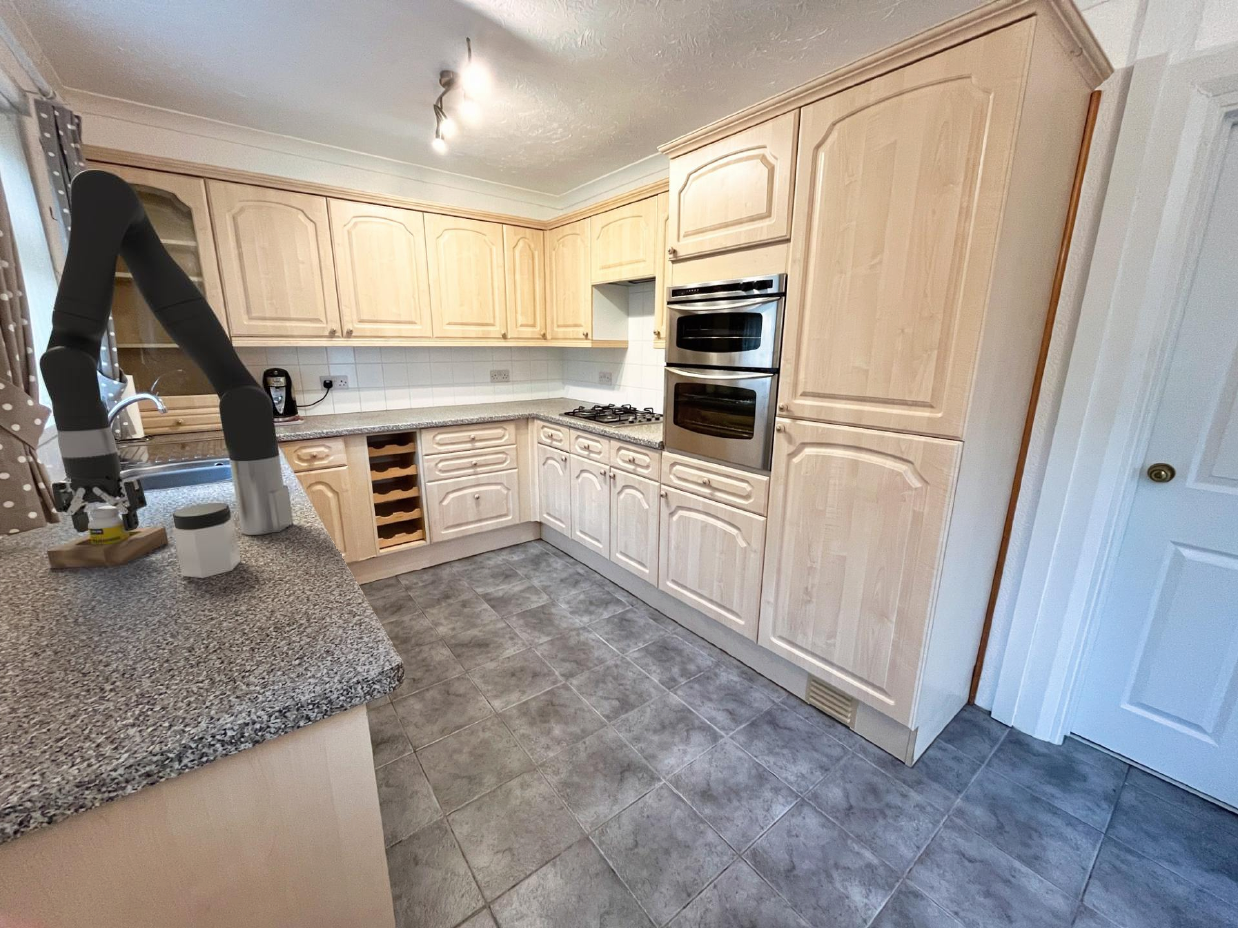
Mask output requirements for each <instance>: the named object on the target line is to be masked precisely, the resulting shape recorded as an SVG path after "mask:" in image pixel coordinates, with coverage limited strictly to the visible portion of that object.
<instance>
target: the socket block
mask: <svg viewBox="0 0 1238 928" xmlns="http://www.w3.org/2000/svg"><path fill="white" fill-rule="evenodd" d="M128 532H129V536H130V537H129V538H127V539H124V540H122V541H120V542H118V543H115V544H100V545H92V542H91V537H90V533H87V534H85V535H83V536H80V537H78V538H74V539H73V540H70V541H67V542H65V543H62V544H60V545H58V546H55V547H53V548H50V549H48V550H47V549H46V554H47V558H48V561H49V562H48V563H49V565H50V568H52V569H54V568H55V569H59V568H62V569H63V568H90V567H93V568H94V567H116V566H118V567H120V566H123V565H125V564H127V563H130V562H131V561H133V560H135V559H138V558H139V557H141V556H143V555H145V554H147V553H149V552H151V551H153V550H155V549H157V548H159V547H162V546H163V545H165V544H167V543H169V540H168V539H169V538H168V535H167V529H166V526H147V527H146V526H144V527H140V526H138V527H137V528H136V529H134V530H132V531H128Z"/></svg>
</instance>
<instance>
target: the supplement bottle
mask: <svg viewBox="0 0 1238 928" xmlns="http://www.w3.org/2000/svg"><path fill="white" fill-rule="evenodd" d="M89 513H90V515H89V516H90V517H91V519H92V520H89V523H88V529H89V530H88V532H89V533H88V534H90V537H91V542H92V545H100V544H115V543H118V542H120V541H122V540H124V539H127V538H129V537H130V536H129V532H128V531H125V529H124V524H123V520H122V515H120V510H118V509H117V508H116V507H114V506H111V505H106V506H103V505H102V506H98V507H94V508H92V509H90V510H89Z"/></svg>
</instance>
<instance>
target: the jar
mask: <svg viewBox="0 0 1238 928" xmlns="http://www.w3.org/2000/svg"><path fill="white" fill-rule="evenodd" d="M231 513H232V512H231V509H230V505H229V504H227V503H224V502H223V503H222V502H212V503H211V502H210V503H209V502H208V503H201V504H195V505H190V506H186V507H182V508H180V509H178V510H176V511H174V512H173V513H172V517H173V522H174V523H173V524H174V527H173V528H172V533H173V538H174V543H175V548H176V554H177V557H178V558H177V559H178V562H179V567H180V572H181V576H182V577H188V578H198V579H205V578H208V577H209V578H210V577H213V576H216V575H220V574H224V573H228V572H231V571H233V570H235V569H234V568H235V567H237V566H238V564H240V562H241V555H240V549H239V543H238V537H237V533H236V526H235V521H234V517H233V516H231V515H232V514H231Z"/></svg>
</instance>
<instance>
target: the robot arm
mask: <svg viewBox="0 0 1238 928" xmlns="http://www.w3.org/2000/svg"><path fill="white" fill-rule="evenodd" d="M69 185H70V186H69V187H70V233H69V240H68V248H67V253H66V257H65V261H64V265H63V269H62V272H61V273H62V274H61V277H60V281H59V285H58V289H57V292H56V297H55V299H54V300H55V301H54V306H53V309H52V314H51V324H52V329H51V331H50V335H49V339H48V343H47V346H46V350H45V351H44V352H43V353H42V355H41V356H40V358H39V363H38V365H39V369H40V373H41V377H42V379H43V383H44V386H45V388H46V391H47V394H48V397H49V399H50V401H51V407H52V409H51V410H52V415H53V419H54V423H55V428H56V431H57V444H58V448H59V451H60V456H61V462H62V464H63V469H64V472H65V476H66V478H67V479H64V480H60V481H57V482H54V483H52V484H51V488H52V494H53V495H52V496H53V501H54V504H55V505H54V506H55V510H56V512H58V513H67V514H68V515H70V517H71V520H72V525H73V528H74V530H76V532H77V533H86V532H89V529H88V523H89V522H90V518H89V514H88V511H86V510H87V507H89V505H90V504H94V503H100V504H106V503H107V504H108V505H109V506H114V507H116V508H117V509H118V510H119V512H121V515H120V516H122V520H123V524H124V529H125V531H132V530H134V529H136V528H138V527H140V521H139V516H138V512H137V511H138V510H140V509H143V508H145V507H147V506H148V503H147V499H146V495H145V493H144V489H143V486H142V482H141V479H140V478H133V479H130V480H123V479H122V477H121V476H120V475H121V472H122V467H121V461H120V458H119V454H118V448H117V443H116V440H115V436H114V433H113V431H112V428H111V424H110V420H109V416H108V411H107V408H106V406H105V404H104V403H105V402H104V401H103V400H102V395H101V388H100V383H99V376H98V367H99V362H100V355H101V350H102V342H103V337H104V336H105V333H106V331H107V327H108V324H109V321H110V317H111V312H112V308H113V303H114V296H115V283H116V269H117V262H118V256H119V257H120V258H121V259H122V261H123V262H124V264H125V265H126V267H127V269H128V270H129V273H130V275H131V277H132V279H133V281H134V283H135V285H136V287H137V289H138V291H139V293H140V295H141V296H142V298H143V300H144V302H145V303H146V305H147V307H148V308H149V310H150V311H151V313H152V315H154V318H156V319H157V321H158V323H159V324H160V325H161V327H162V328H163V330H164V331H165V332H166V333H167V335H168V336H169V337H170V339H172V341H173V342H174V343H175V344H176V345H177V346H178V348H179V349H180V351H182V352H183V353H184V354H185V355H186V357H188V358H189V359H190V360H191V361H192V362H193V363H194V364H195V365H196V366H197V367H198V368H199V369H200V371H202V373H203V374H204V375H205V377H206V378H207V380H208V382H209V383H210V385H211V387H212V388H213V390H214V392H215V393H216V395H217V397H218V399H219V404H218V410H219V417H220V424H221V428H222V434H223V438H224V443H225V444H224V445H225V447H226V451H227V454H228V459H229V460H228V461H229V465H230V472H231V477H232V483H233V489H234V495H235V501H236V507H237V515H238V519H239V526H240V530H241V533H242V534H243V535H248V536H249V535H250V536H253V535H254V536H258V535H266V534H271V533H272V534H273V533H280V532H282V531H284V530H285V529H286V527H287V528H288V527H289V525H290V526H291V525H293V524H292V523H294V519H293V518H294V517H293V512H292V511H293V510H292V506H291V498H290V491H289V486H288V485H286V484H285V483H284V478H283V472H282V463H281V457H280V450H279V449H280V448H279V443H278V438H277V433H276V427H275V424H276V423H275V418H274V410H273V408H274V407H273V401H272V398H271V397H270V395H269V394H268V393H267V391H266V390H265V389H264V388H263V387H262V386H261V384H260V383H259V382H258V381H257V380H256V379H255V377H254V376H253V375H252V373H250V371H249V370H248V369H247V367H246V366H245V364H244V363H243V362H242V360H241V358H240V357H239V355H238V353H237V352H236V350H235V348H234V346H233V343H232V342H231V340H230V338H229V336H228V334H227V332H226V330H225V328H224V327H223V325H222V324H221V322H220V320H219V317H218V316H217V315H216V313H215V312H214V310H213V308H212V307H211V305H210V304H209V303H208V301H207V300H206V298H205V297H204V295H203V294H202V292H201V291H200V290H199V288H198V286H197V285H196V284H195V283H194V282H193V281H192V279H191V278H190V277H189V276H188V273H186V272H185V271H184V270H183V268H182V267H181V266H180V265H179V264H178V263H177V262H176V260H174V258H173V257H172V256H171V254H170V253H169V251H168V250H167V249H166V248H165V245H164V244H163V242H162V241H161V239H160V237H159V235H158V233H157V232H156V230H155V228H154V226H153V224H152V222H151V220H150V218H149V216H148V214H147V211H146V210H145V209H146V208H145V206H144V205H143V202H142V200H141V199H140V196H139V194H138V193H137V192H136V190H135V189H134V188H133V187H132V185H131V184H129V182H127V181H126V180H124V179H123V178H122V177H120V176H119V175H117V174H115V173H113V172H111V171H107V170H105V169H97V168H96V169H93V168H92V169H86V170H85V169H84V170H83V171H80V172H79V173H77V174H76V175H74V177H73V178H72V180H71V182H70V184H69ZM73 492H74V493H75V495H74V494H73Z"/></svg>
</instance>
